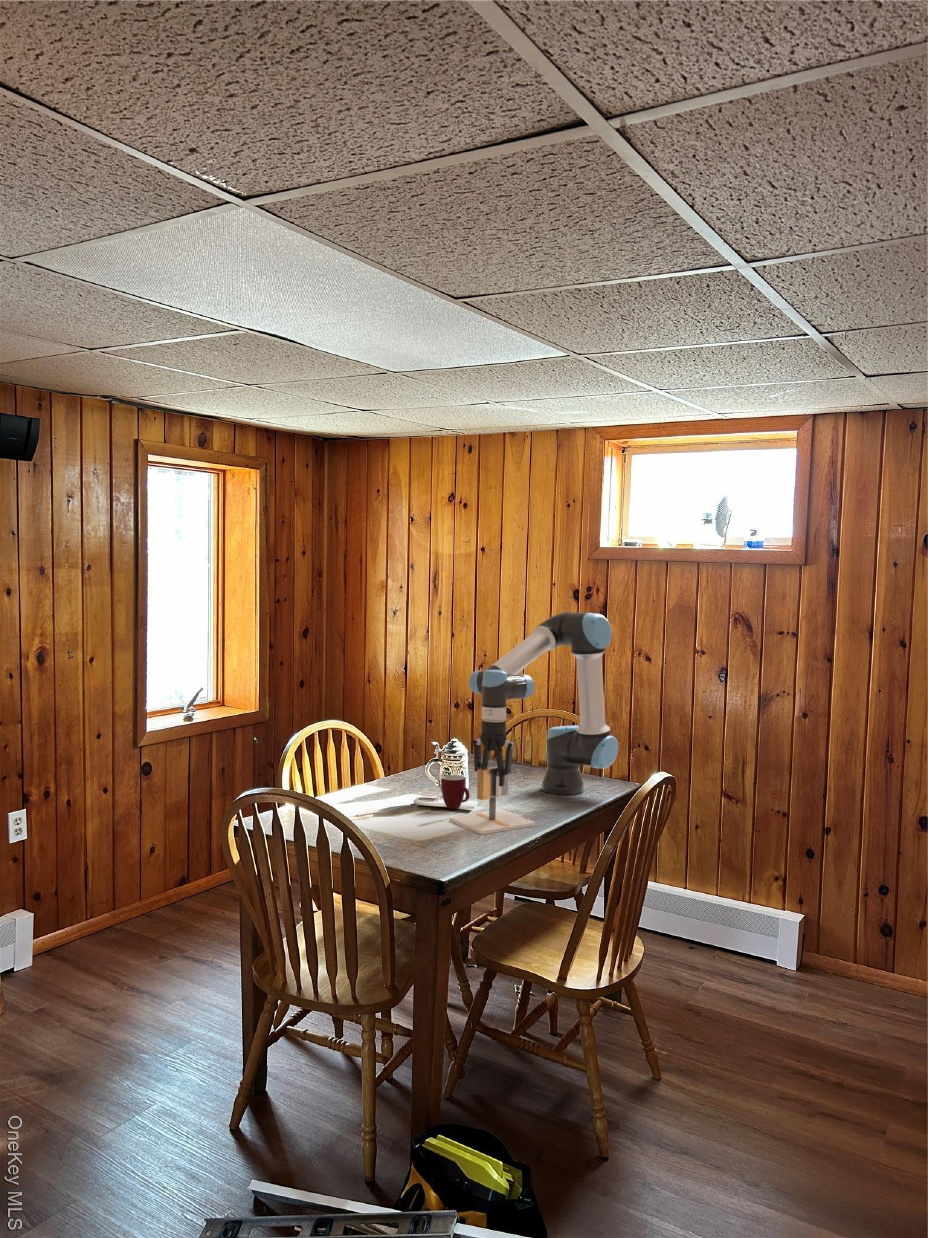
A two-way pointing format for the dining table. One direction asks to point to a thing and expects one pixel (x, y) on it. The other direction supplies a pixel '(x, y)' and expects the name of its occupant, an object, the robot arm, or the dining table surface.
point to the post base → (492, 820)
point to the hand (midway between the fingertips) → (491, 795)
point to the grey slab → (489, 783)
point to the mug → (454, 790)
